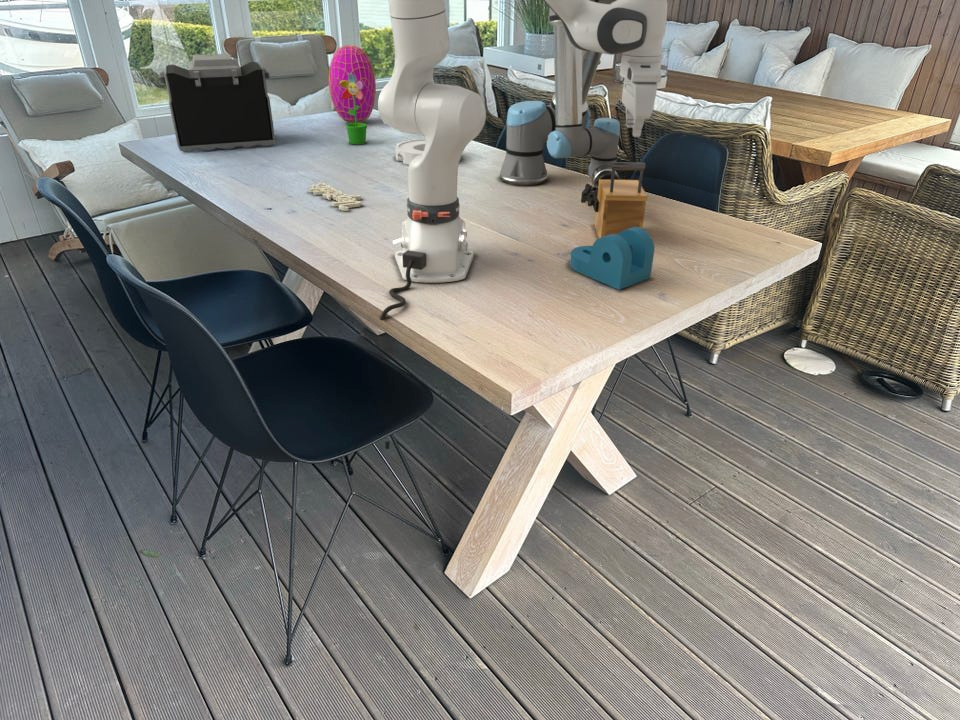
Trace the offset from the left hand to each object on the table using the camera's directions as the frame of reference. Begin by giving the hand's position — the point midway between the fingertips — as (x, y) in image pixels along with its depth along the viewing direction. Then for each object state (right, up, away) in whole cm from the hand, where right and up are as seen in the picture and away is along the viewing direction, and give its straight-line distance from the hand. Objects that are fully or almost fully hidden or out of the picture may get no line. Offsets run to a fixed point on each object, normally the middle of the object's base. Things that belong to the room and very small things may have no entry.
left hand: (632, 131), depth 161 cm
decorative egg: (-89, +48, +132) cm, 166 cm away
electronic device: (-132, +28, +98) cm, 166 cm away
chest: (0, -21, +18) cm, 27 cm away
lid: (0, -11, +12) cm, 16 cm away
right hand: (0, -14, +16) cm, 22 cm away
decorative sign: (-78, -6, +42) cm, 89 cm away
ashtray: (-54, +18, +82) cm, 100 cm away
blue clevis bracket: (-7, -34, -4) cm, 35 cm away
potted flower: (-82, +29, +101) cm, 133 cm away
